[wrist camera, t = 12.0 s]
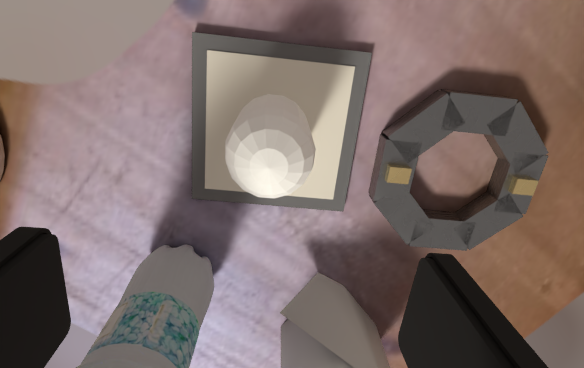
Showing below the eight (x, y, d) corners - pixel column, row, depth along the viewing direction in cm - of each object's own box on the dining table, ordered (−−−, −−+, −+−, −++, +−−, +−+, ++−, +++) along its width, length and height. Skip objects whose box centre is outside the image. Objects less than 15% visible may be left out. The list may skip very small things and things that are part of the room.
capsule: (306, 90, 24) (317, 111, 17) (311, 162, 26) (323, 209, 19) (230, 97, 24) (207, 122, 17) (241, 169, 27) (225, 219, 19)
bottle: (151, 223, 29) (-82, 551, 10) (230, 248, 30) (147, 584, 11) (135, 286, 31) (-81, 647, 13) (208, 307, 32) (109, 667, 14)
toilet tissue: (316, 253, 30) (329, 328, 22) (392, 345, 35) (425, 436, 27) (235, 303, 32) (220, 389, 24) (316, 385, 36) (326, 481, 28)
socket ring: (360, 232, 30) (366, 246, 28) (390, 83, 25) (400, 87, 23) (498, 243, 30) (514, 258, 28) (552, 101, 26) (575, 106, 24)
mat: (193, 195, 28) (191, 199, 27) (194, 32, 24) (191, 32, 23) (342, 208, 29) (343, 212, 28) (369, 52, 24) (372, 52, 24)
